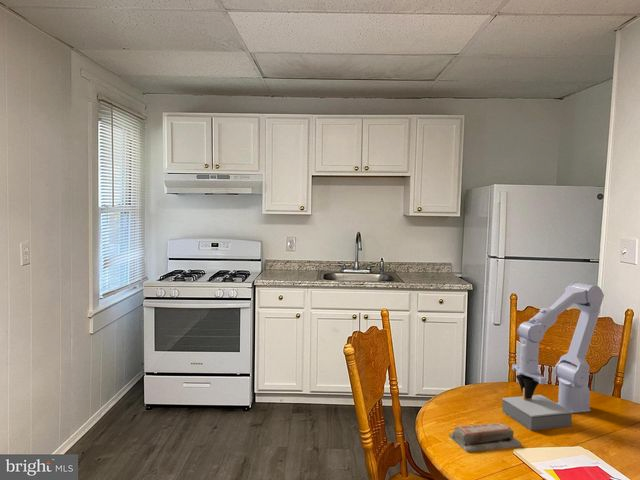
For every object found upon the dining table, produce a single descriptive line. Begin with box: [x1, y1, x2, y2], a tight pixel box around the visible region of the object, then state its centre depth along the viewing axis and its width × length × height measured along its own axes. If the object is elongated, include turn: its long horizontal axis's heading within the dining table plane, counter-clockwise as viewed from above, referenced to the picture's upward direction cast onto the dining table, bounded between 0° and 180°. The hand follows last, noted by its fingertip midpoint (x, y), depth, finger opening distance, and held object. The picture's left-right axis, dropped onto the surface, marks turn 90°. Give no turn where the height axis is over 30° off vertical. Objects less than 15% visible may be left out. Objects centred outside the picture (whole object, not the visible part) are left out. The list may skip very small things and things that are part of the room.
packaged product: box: [448, 422, 522, 453], centre depth 139 cm, size 18×5×10 cm
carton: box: [501, 399, 573, 432], centre depth 155 cm, size 15×14×4 cm
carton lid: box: [502, 388, 573, 417], centre depth 155 cm, size 15×14×4 cm
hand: (527, 397), depth 160 cm, fingers closed, pressing on carton lid
